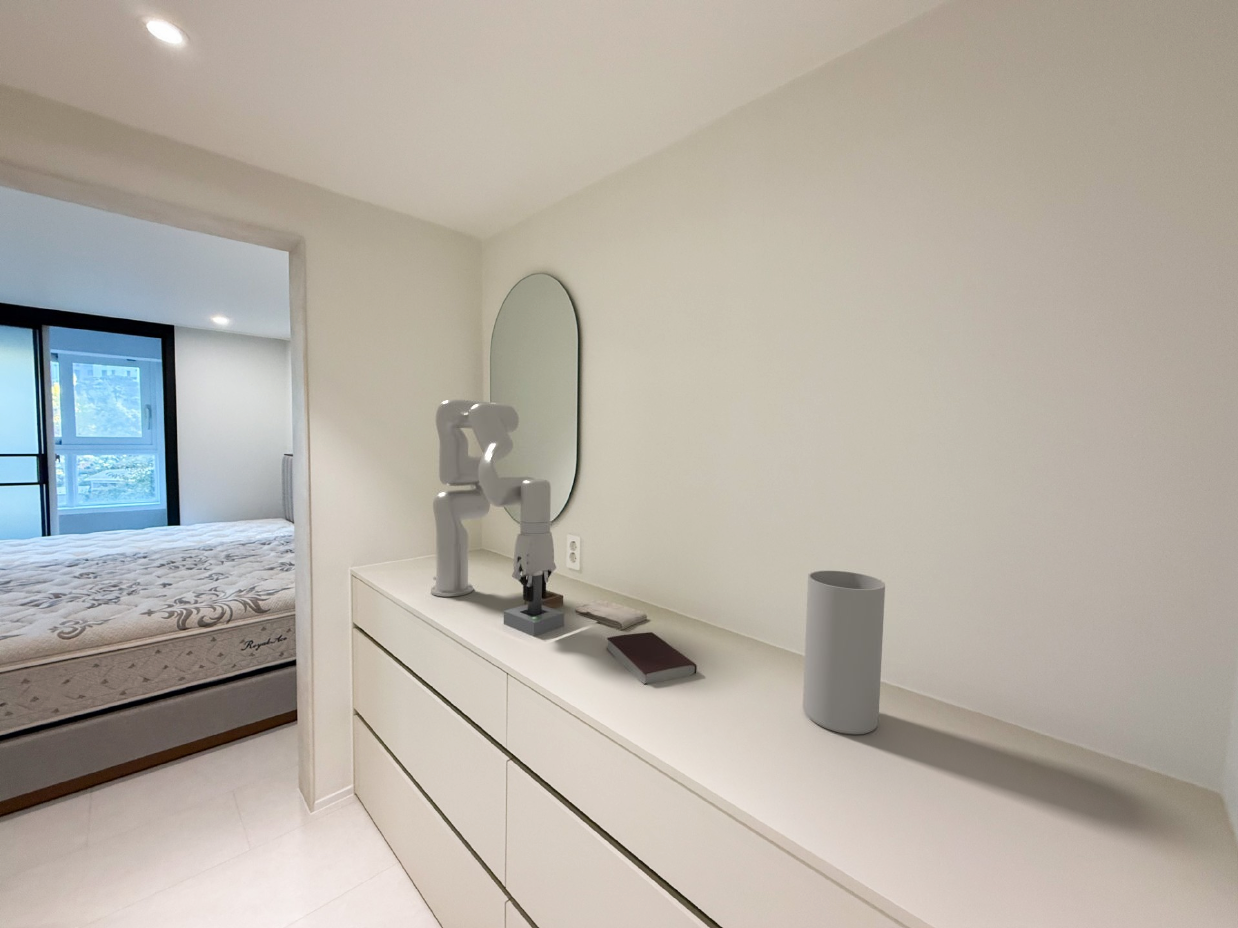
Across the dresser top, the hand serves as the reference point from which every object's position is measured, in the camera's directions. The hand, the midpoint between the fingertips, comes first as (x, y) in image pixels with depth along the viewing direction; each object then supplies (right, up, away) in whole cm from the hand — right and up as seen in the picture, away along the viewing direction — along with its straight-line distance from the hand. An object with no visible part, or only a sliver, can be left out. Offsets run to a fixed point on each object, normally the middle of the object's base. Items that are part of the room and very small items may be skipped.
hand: (534, 598), depth 133 cm
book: (+28, -10, -18) cm, 35 cm away
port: (0, -8, 0) cm, 8 cm away
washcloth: (+19, -8, +9) cm, 23 cm away
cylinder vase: (+61, -11, -40) cm, 74 cm away
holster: (0, -7, +16) cm, 17 cm away
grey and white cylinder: (0, -4, 0) cm, 4 cm away
